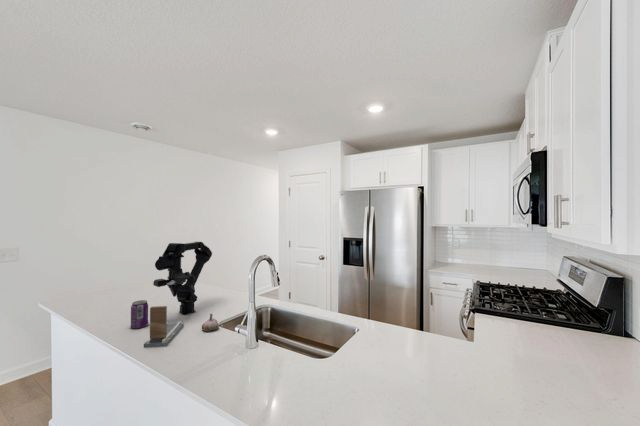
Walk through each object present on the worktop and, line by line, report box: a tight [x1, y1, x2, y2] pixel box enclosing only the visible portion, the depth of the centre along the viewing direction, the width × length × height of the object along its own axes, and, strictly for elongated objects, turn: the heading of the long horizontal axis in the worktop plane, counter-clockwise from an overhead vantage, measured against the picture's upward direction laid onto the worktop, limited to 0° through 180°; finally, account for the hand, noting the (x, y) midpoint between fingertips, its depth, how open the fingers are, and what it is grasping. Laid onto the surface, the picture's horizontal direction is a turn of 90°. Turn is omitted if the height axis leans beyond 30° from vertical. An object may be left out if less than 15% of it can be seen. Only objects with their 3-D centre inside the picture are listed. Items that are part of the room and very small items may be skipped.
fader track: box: [143, 321, 185, 348], centre depth 123 cm, size 20×9×2 cm, turn 9°
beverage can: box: [130, 299, 149, 329], centre depth 133 cm, size 7×7×12 cm
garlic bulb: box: [201, 312, 220, 332], centre depth 130 cm, size 8×7×8 cm
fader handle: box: [149, 305, 168, 343], centre depth 115 cm, size 4×6×14 cm, turn 99°
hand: (174, 296), depth 143 cm, fingers closed
